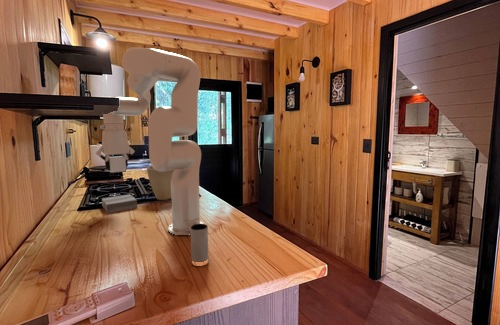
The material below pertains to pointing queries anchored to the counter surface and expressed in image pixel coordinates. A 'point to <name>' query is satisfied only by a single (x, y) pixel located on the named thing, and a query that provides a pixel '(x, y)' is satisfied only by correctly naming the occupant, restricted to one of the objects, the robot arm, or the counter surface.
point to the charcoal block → (119, 203)
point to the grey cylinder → (199, 242)
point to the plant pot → (160, 183)
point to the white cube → (117, 164)
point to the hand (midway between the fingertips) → (117, 168)
